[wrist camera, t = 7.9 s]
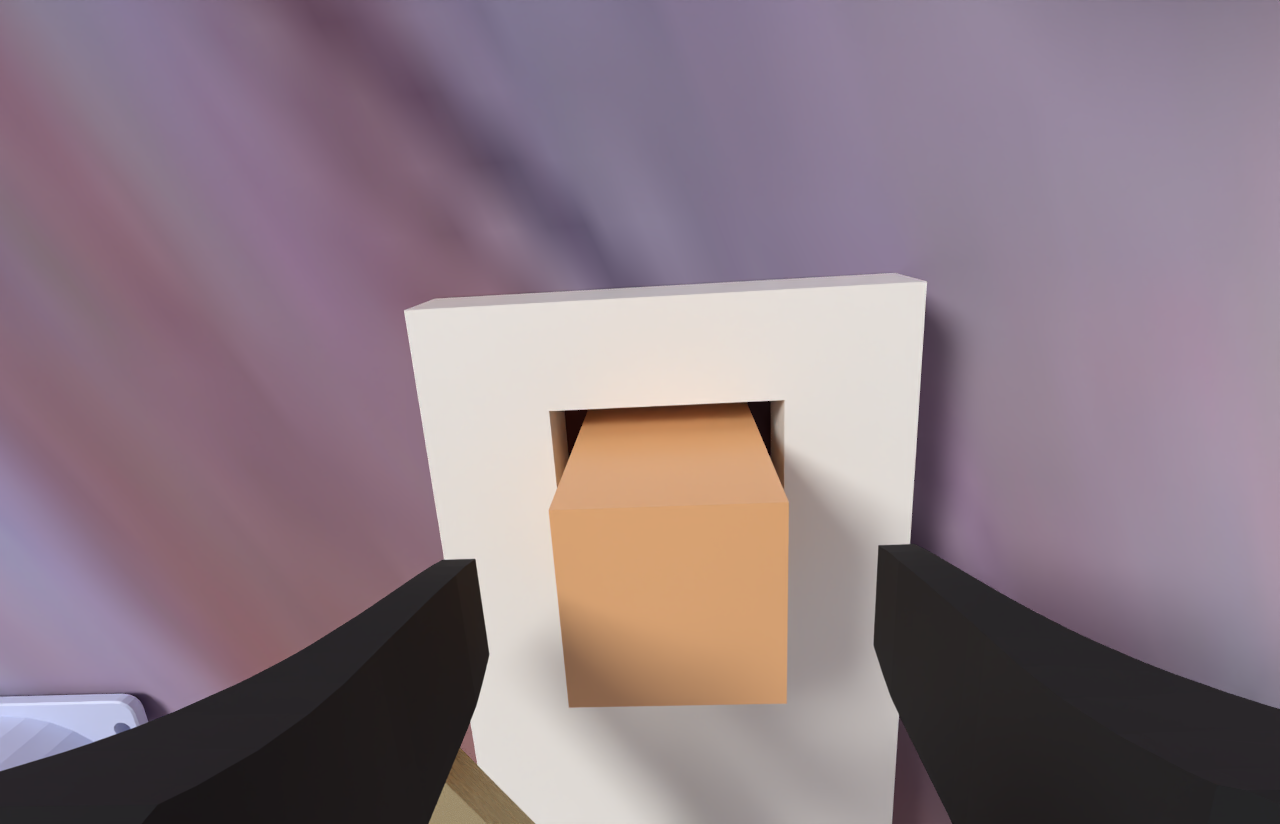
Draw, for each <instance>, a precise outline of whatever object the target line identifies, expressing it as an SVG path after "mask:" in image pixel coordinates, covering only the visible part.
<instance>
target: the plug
mask: <svg viewBox="0 0 1280 824" xmlns="http://www.w3.org/2000/svg"><path fill="white" fill-rule="evenodd" d="M549 519H550V529H551V539H552V549H553V558H554V568H555V578H556V587H557V597H558V607H559V617H560V626H561V636H562V646H563V655H564V665H565V675H566V685H567V694H568V704H569V708H575V707H630V706H684V705H739V704H787V636H788V546H789V501H788V499H787V496H786V494H785V492H784V489H783V487H782V485H781V482H780V480H779V477H778V475H777V473H776V470H775V468H774V466H773V463H772V461H771V459H770V456H769V454H768V452H767V449H766V447H765V444H764V442H763V440H762V437H761V435H760V433H759V430H758V428H757V426H756V423H755V421H754V419H753V416H752V414H751V411H750V409H749V407H748V404H747V402H743V403H719V404H695V405H672V406H648V407H627V408H605V409H588V412H587V414H586V417H585V419H584V422H583V424H582V427H581V429H580V432H579V434H578V437H577V439H576V442H575V445H574V447H573V450H572V452H571V455H570V457H569V460H568V462H567V465H566V467H565V470H564V472H563V475H562V478H561V480H560V483H559V485H558V488H557V490H556V493H555V495H554V498H553V500H552V503H551V505H550V508H549Z"/></svg>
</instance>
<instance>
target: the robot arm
mask: <svg viewBox="0 0 1280 824" xmlns="http://www.w3.org/2000/svg"><path fill="white" fill-rule="evenodd" d="M873 646H874V649H875V652H876V655H877V658H878V661H879V664H880V668H881V671H882V674H883V677H884V680H885V682H886V685H887V688H888V691H889V694H890V697H891V699H892V701H893V703H894V705H895V707H896V709H897V712H898V714H899V716H900V718H901V720H902V722H903V724H904V726H905V728H906V730H907V732H908V734H909V736H910V738H911V740H912V742H913V744H914V747H915V749H916V751H917V753H918V755H919V757H920V759H921V761H922V763H923V765H924V767H925V769H926V771H927V773H928V775H929V777H930V779H931V781H932V783H933V785H934V787H935V789H936V791H937V793H938V795H939V797H940V799H941V801H942V803H943V805H944V807H945V809H946V811H947V813H948V815H949V817H950V819H951V822H952V824H1280V709H1277V708H1274V707H1271V706H1267V705H1264V704H1261V703H1258V702H1255V701H1251V700H1248V699H1245V698H1242V697H1239V696H1236V695H1233V694H1229V693H1226V692H1223V691H1221V690H1218V689H1215V688H1212V687H1209V686H1206V685H1204V684H1201V683H1198V682H1195V681H1192V680H1190V679H1187V678H1184V677H1181V676H1178V675H1175V674H1173V673H1170V672H1167V671H1165V670H1162V669H1160V668H1157V667H1154V666H1152V665H1149V664H1147V663H1144V662H1142V661H1139V660H1137V659H1134V658H1132V657H1130V656H1128V655H1125V654H1123V653H1121V652H1118V651H1116V650H1114V649H1111V648H1109V647H1107V646H1104V645H1102V644H1100V643H1097V642H1095V641H1093V640H1091V639H1088V638H1086V637H1084V636H1082V635H1080V634H1078V633H1076V632H1073V631H1071V630H1069V629H1067V628H1065V627H1063V626H1061V625H1060V624H1058V623H1056V622H1054V621H1052V620H1050V619H1048V618H1046V617H1044V616H1042V615H1040V614H1038V613H1036V612H1034V611H1032V610H1030V609H1028V608H1027V607H1025V606H1023V605H1021V604H1019V603H1017V602H1016V601H1014V600H1012V599H1010V598H1008V597H1007V596H1005V595H1003V594H1001V593H1000V592H998V591H996V590H994V589H993V588H991V587H989V586H987V585H986V584H984V583H982V582H981V581H979V580H977V579H975V578H974V577H972V576H970V575H969V574H967V573H965V572H964V571H962V570H960V569H959V568H957V567H955V566H953V565H952V564H950V563H948V562H947V561H945V560H943V559H941V558H940V557H938V556H936V555H935V554H933V553H931V552H929V551H927V550H925V549H923V548H921V547H919V546H917V545H915V544H899V545H878V562H877V582H876V602H875V622H874V642H873ZM489 655H490V654H489V648H488V641H487V634H486V627H485V620H484V614H483V607H482V600H481V593H480V586H479V580H478V573H477V566H476V559H451V560H441V561H440V562H438V563H436V564H434V565H432V566H431V567H429V568H427V569H426V570H424V571H423V572H421V573H420V574H418V575H417V576H415V577H414V578H412V579H411V580H409V581H408V582H406V583H405V584H404V585H402V586H401V587H399V588H398V589H396V590H395V591H393V592H392V593H390V594H389V595H387V596H386V597H385V598H383V599H382V600H380V601H379V602H377V603H376V604H374V605H373V606H371V607H370V608H368V609H367V610H365V611H364V612H362V613H361V614H359V615H358V616H356V617H355V618H353V619H351V620H350V621H348V622H347V623H345V624H343V625H342V626H340V627H339V628H337V629H336V630H334V631H332V632H331V633H329V634H328V635H326V636H324V637H323V638H321V639H320V640H318V641H316V642H315V643H313V644H312V645H310V646H308V647H306V648H305V649H303V650H301V651H299V652H298V653H296V654H294V655H292V656H290V657H289V658H287V659H285V660H283V661H281V662H280V663H278V664H276V665H274V666H272V667H270V668H268V669H266V670H264V671H262V672H260V673H258V674H256V675H254V676H253V677H251V678H249V679H246V680H244V681H242V682H240V683H238V684H236V685H234V686H232V687H229V688H227V689H225V690H223V691H220V692H218V693H216V694H214V695H211V696H209V697H207V698H205V699H202V700H200V701H198V702H196V703H193V704H191V705H189V706H186V707H184V708H182V709H180V710H177V711H175V712H173V713H170V714H168V715H165V716H163V717H160V718H158V719H155V720H152V721H150V722H148V719H147V716H146V713H145V710H144V707H143V705H142V703H141V701H140V700H138V699H137V698H136V697H134V696H132V695H129V694H87V695H48V696H8V697H0V824H429V821H430V819H431V817H432V814H433V812H434V809H435V807H436V804H437V802H438V800H439V797H440V795H441V792H442V790H443V787H444V785H445V783H446V780H447V778H448V775H449V773H450V770H451V768H452V766H453V763H454V761H455V758H456V756H457V753H458V751H459V749H460V746H461V744H462V741H463V739H464V736H465V734H466V731H467V729H468V726H469V724H470V721H471V719H472V716H473V714H474V711H475V708H476V706H477V702H478V698H479V695H480V691H481V687H482V684H483V680H484V676H485V672H486V667H487V663H488V659H489Z"/></svg>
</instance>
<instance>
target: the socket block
mask: <svg viewBox="0 0 1280 824" xmlns="http://www.w3.org/2000/svg"><path fill="white" fill-rule="evenodd" d="M926 289H927V281H923V280H919V279H916V278H912V277H908V276H904V275H901V274H897V273H885V274H867V275H849V276H831V277H813V278H796V279H778V280H760V281H742V282H724V283H706V284H689V285H671V286H653V287H635V288H617V289H599V290H581V291H564V292H546V293H528V294H510V295H492V296H474V297H456V298H439V299H433V300H430V301H428V302H425V303H422V304H420V305H417V306H414V307H412V308H409V309H406V310H404V313H405V319H406V325H407V331H408V338H409V344H410V350H411V356H412V362H413V369H414V375H415V381H416V387H417V393H418V400H419V406H420V412H421V418H422V424H423V431H424V437H425V443H426V449H427V455H428V462H429V468H430V474H431V480H432V486H433V493H434V499H435V505H436V511H437V517H438V524H439V530H440V536H441V542H442V548H443V555H444V560H451V559H476V566H477V573H478V580H479V586H480V593H481V600H482V607H483V614H484V620H485V627H486V634H487V641H488V648H489V654H490V655H489V659H488V663H487V667H486V672H485V676H484V680H483V684H482V687H481V691H480V695H479V698H478V702H477V706H476V708H475V711H474V714H473V716H472V719H471V721H470V722H471V728H472V734H473V740H474V747H475V753H476V759H477V765H478V766H479V767H480V768H481V769H482V770H483V771H484V772H485V773H486V774H487V775H488V776H489V777H490V778H491V779H492V780H493V781H494V783H495V784H496V785H497V786H498V787H499V788H500V789H501V790H502V791H503V792H504V793H505V794H506V795H507V796H508V797H509V798H510V799H511V800H512V801H513V802H514V803H515V804H516V805H517V806H518V807H519V808H520V809H521V810H522V811H523V812H524V813H525V814H526V815H527V816H528V817H529V818H530V819H531V820H532V821H533V822H534V823H535V824H892V815H893V799H894V784H895V768H896V753H897V737H898V722H899V714H898V712H897V709H896V707H895V705H894V703H893V701H892V699H891V697H890V694H889V691H888V688H887V685H886V682H885V680H884V677H883V674H882V671H881V668H880V664H879V661H878V658H877V655H876V652H875V649H874V646H873V642H874V622H875V602H876V582H877V562H878V545H899V544H910V536H911V521H912V505H913V490H914V475H915V459H916V444H917V428H918V413H919V397H920V382H921V366H922V351H923V335H924V320H925V304H926ZM755 401H771V461H772V463H773V466H774V468H775V470H776V473H777V475H778V477H779V480H780V482H781V485H782V487H783V489H784V492H785V494H786V496H787V499H788V501H789V546H788V636H787V704H739V705H684V706H630V707H575V708H569V704H568V694H567V685H566V675H565V665H564V655H563V646H562V636H561V626H560V617H559V607H558V597H557V587H556V578H555V568H554V558H553V549H552V539H551V529H550V519H549V508H550V505H551V503H552V500H553V498H554V495H555V493H556V490H557V488H558V485H559V483H560V480H561V478H562V475H563V472H564V470H565V467H566V465H567V462H568V460H569V453H568V442H567V432H566V421H565V411H564V410H584V409H605V408H627V407H648V406H669V405H691V404H712V403H734V402H755Z"/></svg>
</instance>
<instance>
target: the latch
mask: <svg viewBox="0 0 1280 824" xmlns="http://www.w3.org/2000/svg"><path fill="white" fill-rule="evenodd" d="M429 824H535V823H534V822H533V821H532V820H531V819H530V818H529V817H528V816H527V815H526V814H525V813H524V812H523V811H522V810H521V809H520V808H519V807H518V806H517V805H516V804H515V803H514V802H513V801H512V800H511V799H510V798H509V797H508V796H507V795H506V794H505V793H504V792H503V791H502V790H501V789H500V788H499V787H498V786H497V785H496V784H495V783H494V781H493V780H492V779H491V778H490V777H489V776H488V775H487V774H486V773H485V772H484V771H483V770H482V769H481V768H480V767H479V766H478V765H477V764H476V763H475V762H474V761H473V760H472V759H471V758H470V757H469V756H468V755H467V754H466V753H465V752H464V751H463V750H462V749H461V748H460V749H459V751H458V753H457V756H456V758H455V761H454V763H453V766H452V768H451V770H450V773H449V775H448V778H447V780H446V783H445V785H444V787H443V790H442V792H441V795H440V797H439V800H438V802H437V804H436V807H435V809H434V812H433V814H432V817H431V819H430V821H429Z"/></svg>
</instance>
